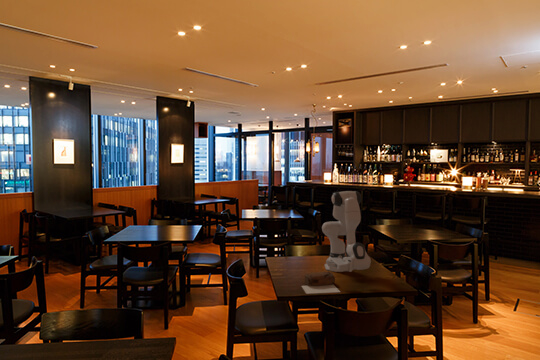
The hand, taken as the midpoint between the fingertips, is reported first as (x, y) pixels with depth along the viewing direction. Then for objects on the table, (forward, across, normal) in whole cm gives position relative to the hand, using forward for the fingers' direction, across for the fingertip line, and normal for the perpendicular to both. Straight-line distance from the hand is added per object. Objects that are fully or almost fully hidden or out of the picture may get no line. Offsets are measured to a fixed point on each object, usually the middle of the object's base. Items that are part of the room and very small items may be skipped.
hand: (327, 264), depth 234 cm
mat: (+5, 0, +17) cm, 18 cm away
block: (-8, -12, +13) cm, 19 cm away
